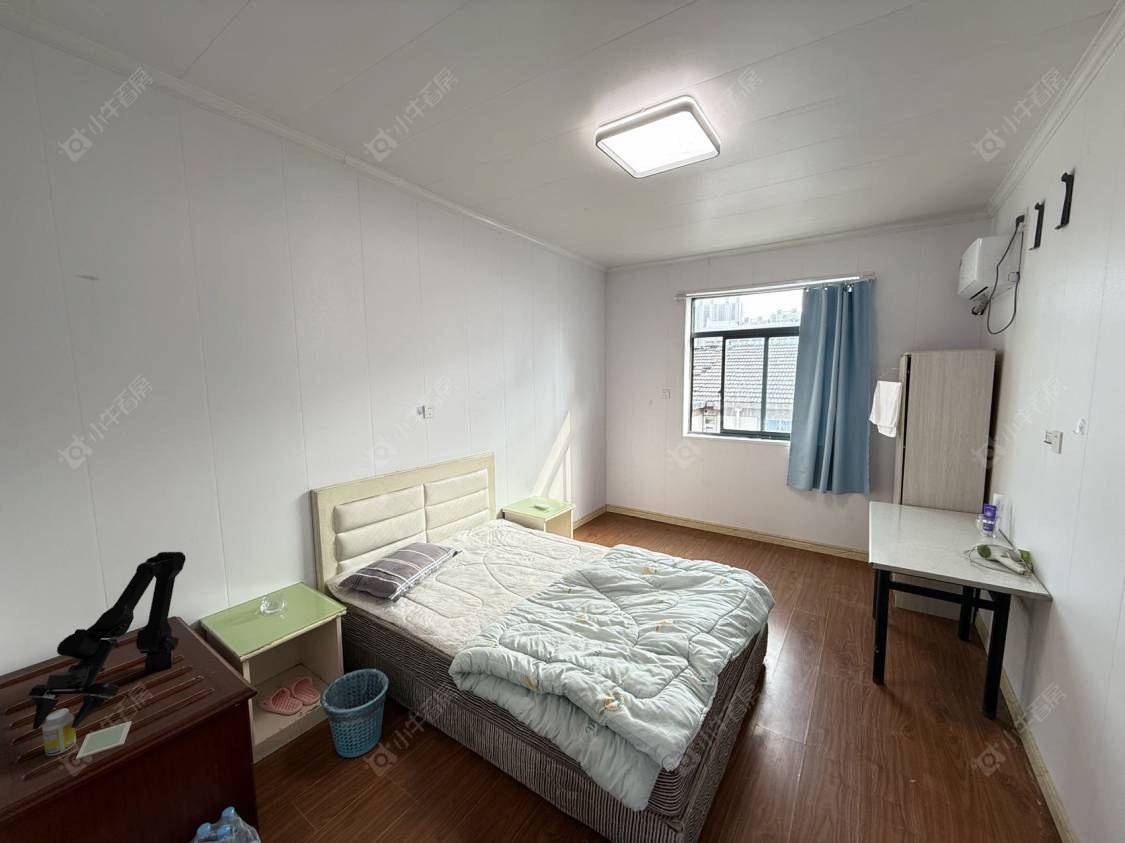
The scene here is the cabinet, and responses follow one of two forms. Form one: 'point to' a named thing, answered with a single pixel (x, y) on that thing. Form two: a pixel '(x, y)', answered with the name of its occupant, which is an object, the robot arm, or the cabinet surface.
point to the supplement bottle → (58, 732)
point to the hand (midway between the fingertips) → (53, 728)
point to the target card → (104, 740)
